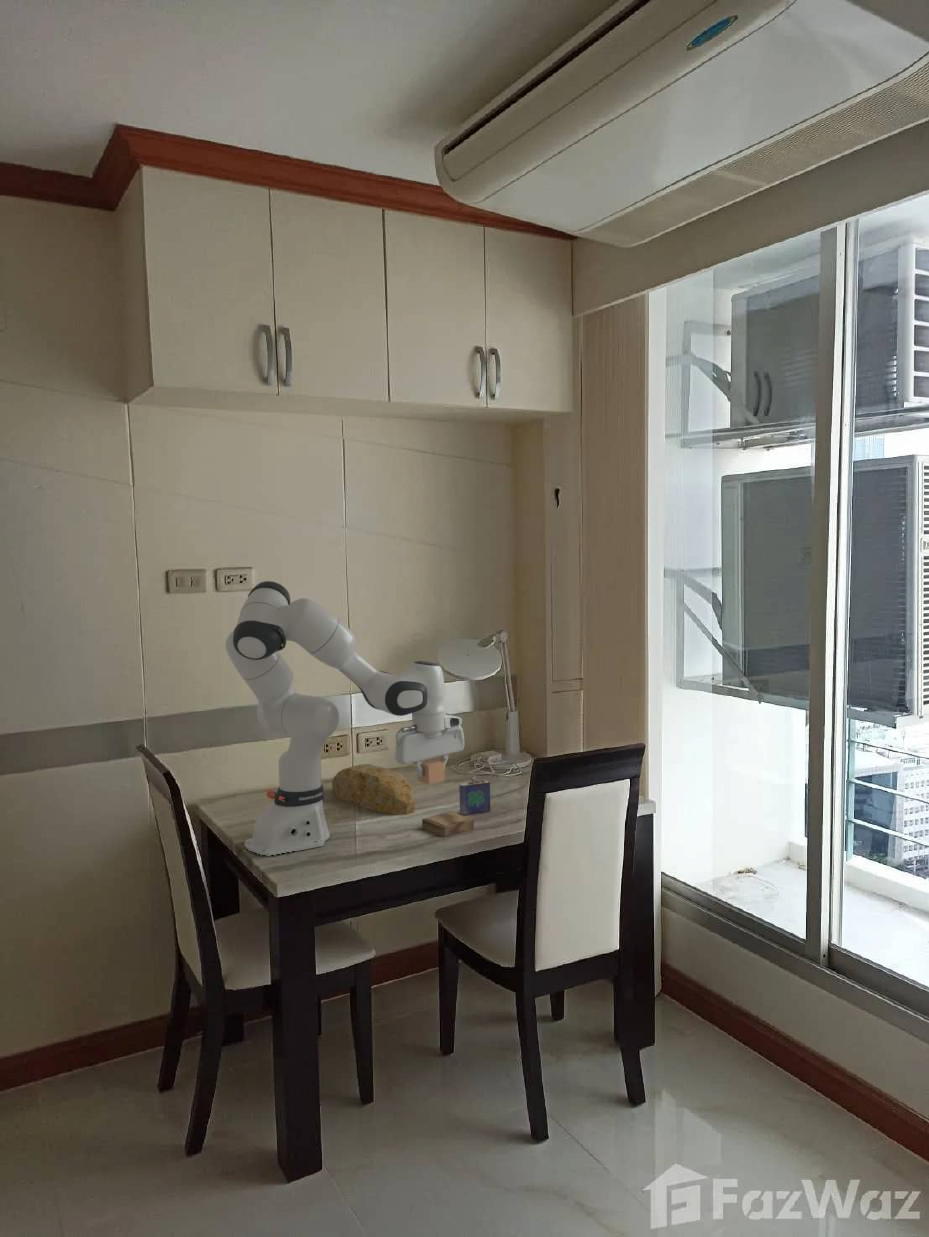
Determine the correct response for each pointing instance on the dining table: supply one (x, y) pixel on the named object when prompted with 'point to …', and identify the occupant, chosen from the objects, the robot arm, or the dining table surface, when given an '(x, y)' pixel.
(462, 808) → the flask
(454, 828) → the walnut plinth
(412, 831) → the dining table surface
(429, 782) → the terracotta block
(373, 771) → the bread
